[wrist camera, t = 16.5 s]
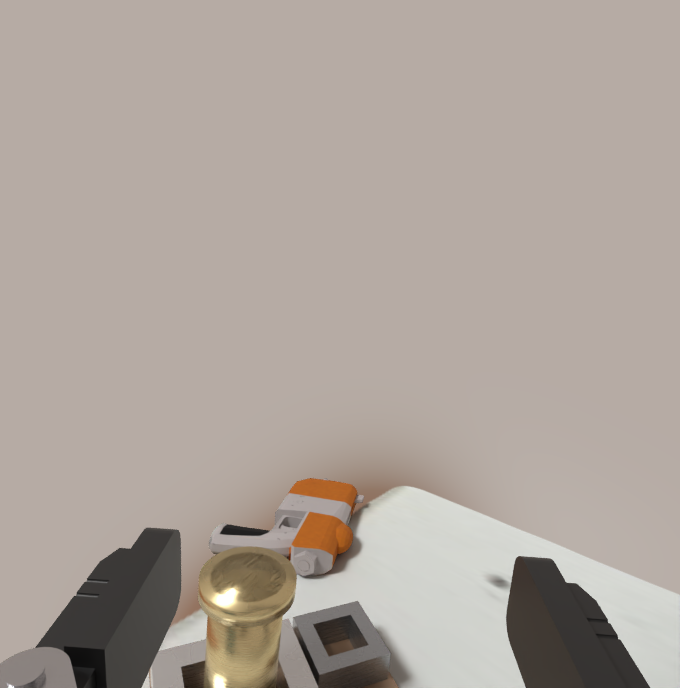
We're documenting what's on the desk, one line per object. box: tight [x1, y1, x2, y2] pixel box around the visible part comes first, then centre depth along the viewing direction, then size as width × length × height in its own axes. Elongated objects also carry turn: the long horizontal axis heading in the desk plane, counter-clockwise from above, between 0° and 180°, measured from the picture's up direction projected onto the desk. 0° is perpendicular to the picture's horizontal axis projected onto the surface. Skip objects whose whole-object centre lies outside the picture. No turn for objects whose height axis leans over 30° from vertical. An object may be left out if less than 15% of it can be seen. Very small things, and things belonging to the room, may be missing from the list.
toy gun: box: [209, 478, 364, 576], centre depth 63 cm, size 3×19×15 cm
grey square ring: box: [293, 601, 391, 688], centre depth 43 cm, size 6×6×2 cm
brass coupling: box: [198, 546, 297, 688], centre depth 36 cm, size 6×6×12 cm
